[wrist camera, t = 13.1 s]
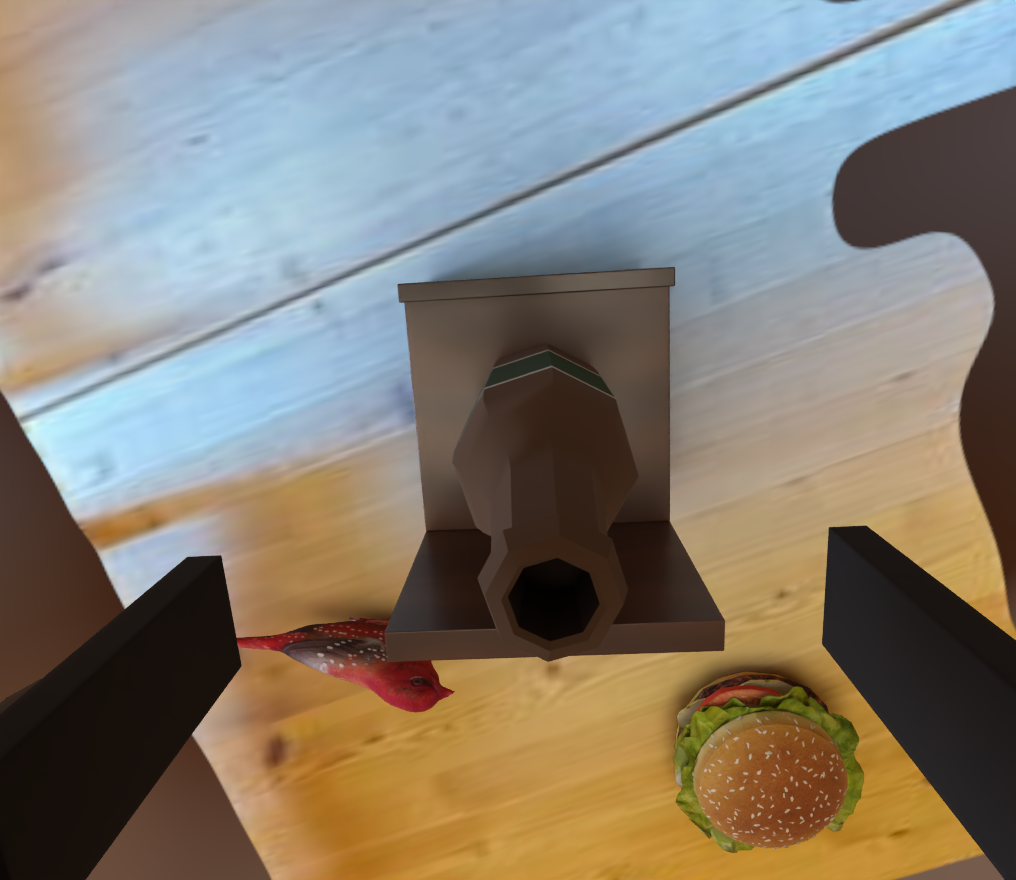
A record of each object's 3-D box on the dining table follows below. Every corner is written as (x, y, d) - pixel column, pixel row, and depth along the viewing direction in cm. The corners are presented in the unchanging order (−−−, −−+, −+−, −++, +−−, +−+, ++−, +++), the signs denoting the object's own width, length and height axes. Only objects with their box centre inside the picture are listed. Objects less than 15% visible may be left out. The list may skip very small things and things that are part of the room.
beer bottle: (614, 345, 38) (742, 459, 15) (600, 475, 40) (695, 756, 17) (479, 335, 38) (396, 433, 15) (471, 465, 40) (388, 731, 17)
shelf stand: (426, 281, 46) (344, 287, 26) (643, 268, 46) (732, 263, 25) (446, 505, 50) (387, 662, 30) (645, 496, 50) (724, 651, 29)
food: (660, 808, 56) (680, 893, 49) (664, 660, 53) (686, 726, 45) (826, 808, 56) (873, 895, 48) (841, 659, 52) (894, 726, 45)
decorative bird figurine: (463, 648, 53) (448, 731, 44) (244, 617, 53) (180, 693, 44) (468, 616, 53) (453, 693, 43) (246, 584, 53) (181, 654, 43)
